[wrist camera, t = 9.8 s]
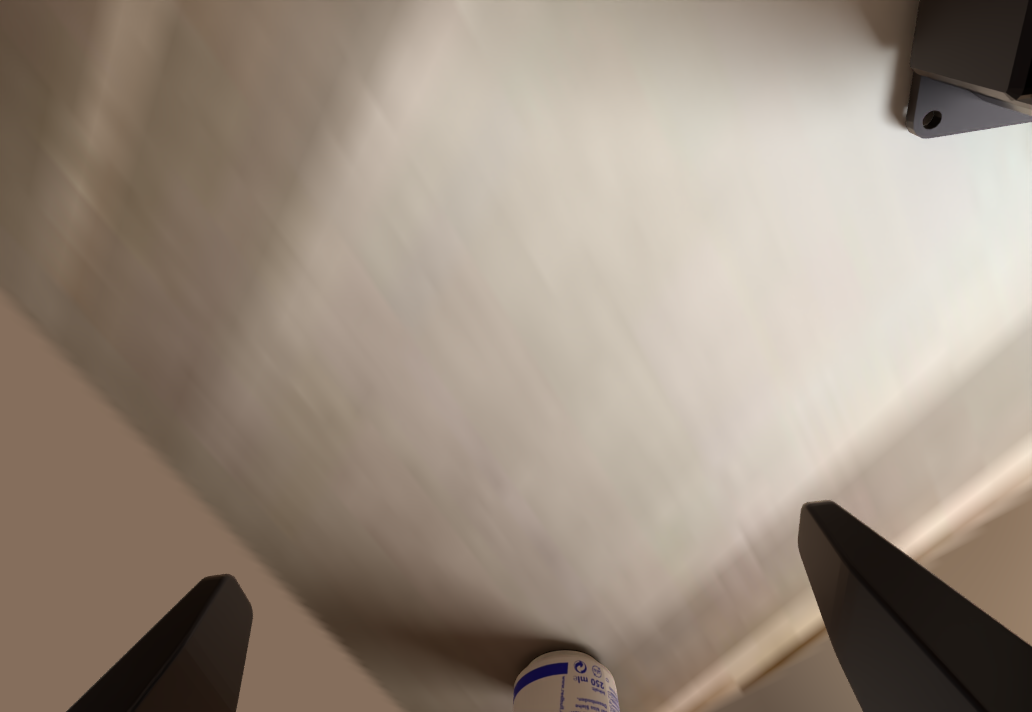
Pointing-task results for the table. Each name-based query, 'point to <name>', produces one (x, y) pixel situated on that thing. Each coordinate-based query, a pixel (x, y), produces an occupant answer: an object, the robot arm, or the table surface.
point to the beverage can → (565, 685)
